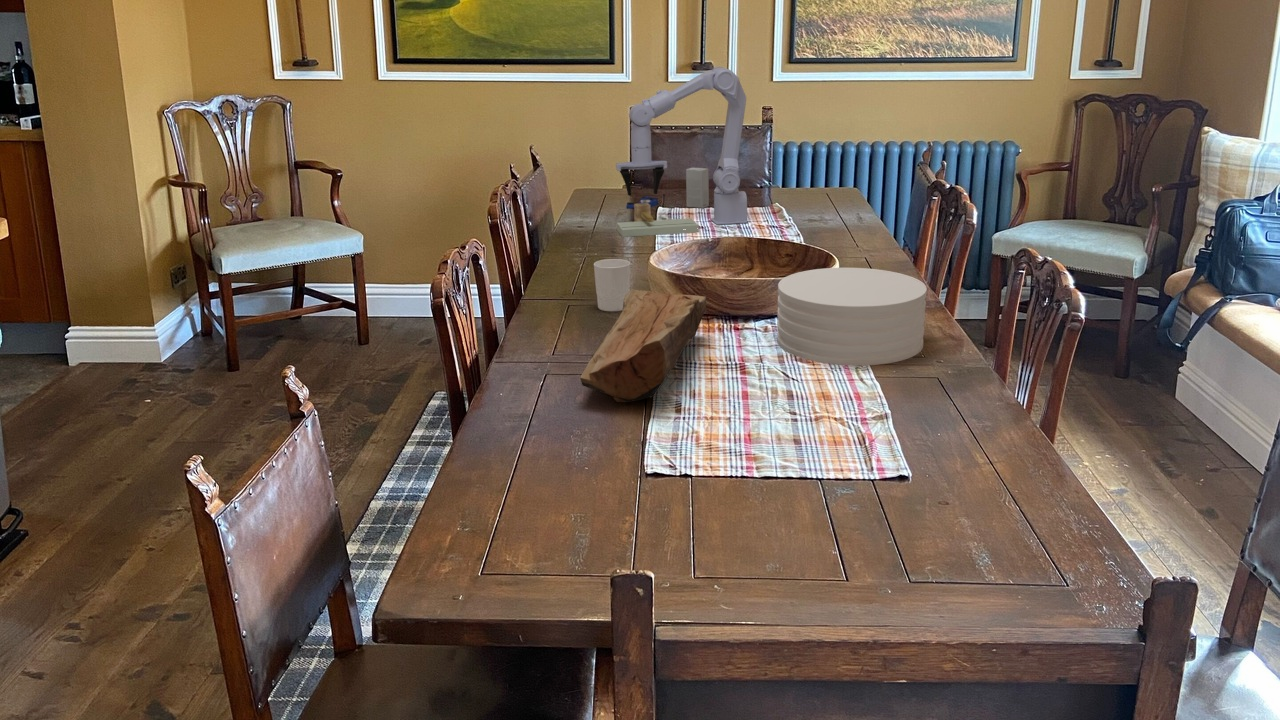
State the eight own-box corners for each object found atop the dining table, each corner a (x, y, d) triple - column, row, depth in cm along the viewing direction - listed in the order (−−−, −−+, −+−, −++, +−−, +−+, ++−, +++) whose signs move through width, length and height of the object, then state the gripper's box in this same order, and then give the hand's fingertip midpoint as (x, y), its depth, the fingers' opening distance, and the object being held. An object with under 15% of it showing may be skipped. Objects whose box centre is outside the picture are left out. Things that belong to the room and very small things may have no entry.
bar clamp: (626, 196, 349) (657, 195, 349) (626, 203, 350) (657, 203, 350) (625, 220, 319) (658, 219, 319) (625, 228, 320) (659, 227, 319)
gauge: (647, 224, 317) (647, 202, 315) (657, 233, 306) (657, 210, 304) (634, 225, 316) (633, 203, 314) (644, 234, 305) (643, 211, 303)
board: (691, 225, 315) (691, 218, 314) (698, 232, 306) (698, 224, 305) (616, 229, 312) (616, 222, 311) (622, 236, 302) (622, 229, 302)
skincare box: (709, 206, 341) (709, 168, 337) (702, 208, 338) (702, 170, 334) (692, 204, 344) (692, 167, 340) (685, 207, 341) (685, 169, 337)
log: (660, 412, 176) (669, 322, 173) (558, 397, 180) (566, 308, 177) (707, 368, 216) (715, 294, 213) (623, 356, 220) (630, 283, 217)
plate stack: (838, 313, 229) (840, 260, 225) (952, 342, 209) (956, 284, 205) (747, 342, 212) (747, 286, 208) (862, 377, 192) (864, 315, 188)
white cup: (618, 314, 231) (617, 269, 228) (588, 309, 235) (586, 265, 232) (638, 305, 237) (637, 261, 234) (608, 300, 241) (606, 257, 238)
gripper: (663, 143, 313) (664, 190, 317) (614, 146, 310) (615, 193, 315) (668, 147, 306) (669, 194, 310) (617, 149, 304) (619, 197, 308)
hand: (642, 194), depth 312 cm, fingers open, 7 cm apart
